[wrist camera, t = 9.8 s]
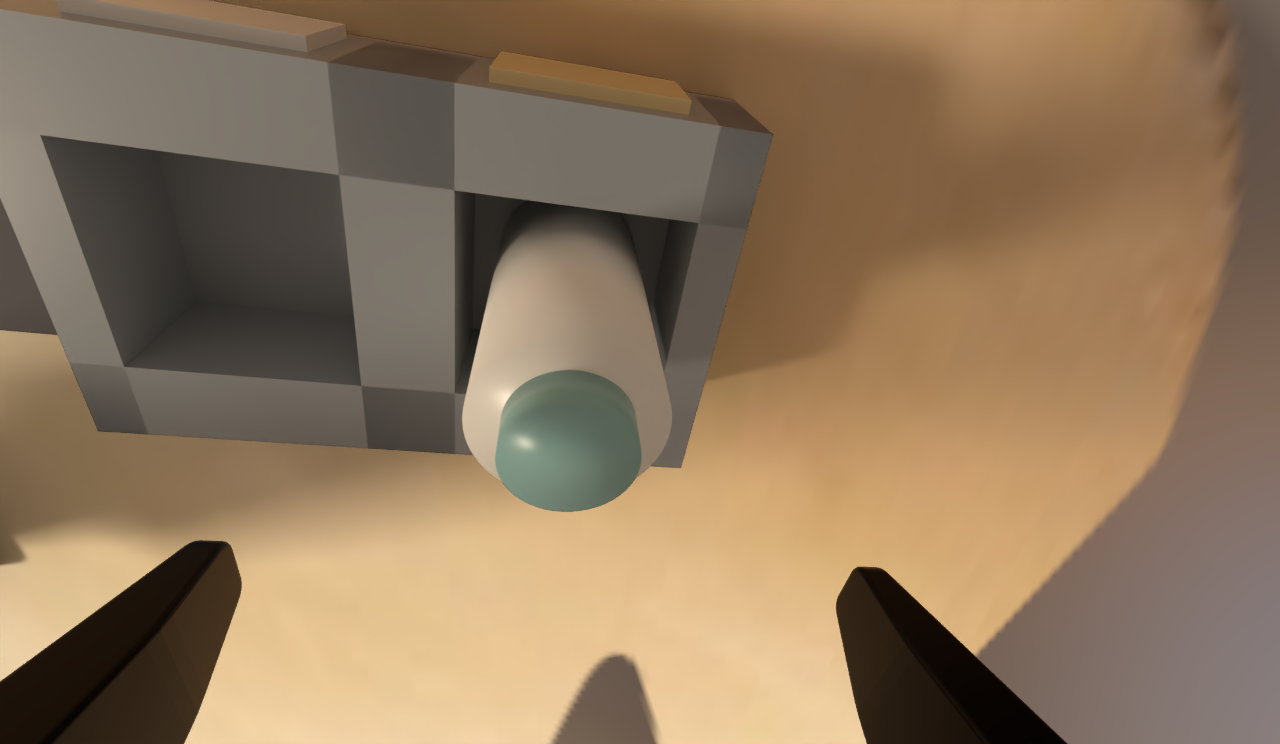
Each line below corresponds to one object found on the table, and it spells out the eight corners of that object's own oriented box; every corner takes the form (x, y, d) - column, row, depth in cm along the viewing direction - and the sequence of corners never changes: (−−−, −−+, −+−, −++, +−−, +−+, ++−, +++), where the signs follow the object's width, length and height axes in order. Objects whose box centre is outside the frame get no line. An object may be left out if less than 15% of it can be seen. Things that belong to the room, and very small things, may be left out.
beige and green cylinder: (497, 306, 19) (453, 532, 12) (503, 179, 17) (454, 358, 9) (623, 319, 20) (657, 539, 12) (645, 199, 17) (702, 380, 10)
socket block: (179, 350, 19) (98, 431, 16) (66, -29, 14) (-94, -25, 10) (665, 392, 22) (680, 468, 19) (736, 88, 16) (777, 120, 13)
